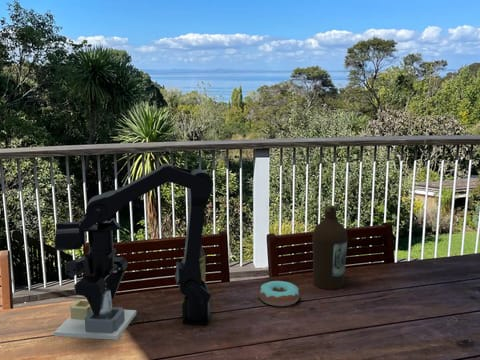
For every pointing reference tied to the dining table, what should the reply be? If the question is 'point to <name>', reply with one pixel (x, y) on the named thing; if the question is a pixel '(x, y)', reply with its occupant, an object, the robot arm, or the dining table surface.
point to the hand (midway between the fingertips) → (104, 307)
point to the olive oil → (329, 251)
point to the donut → (279, 293)
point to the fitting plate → (94, 322)
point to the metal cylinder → (106, 307)
